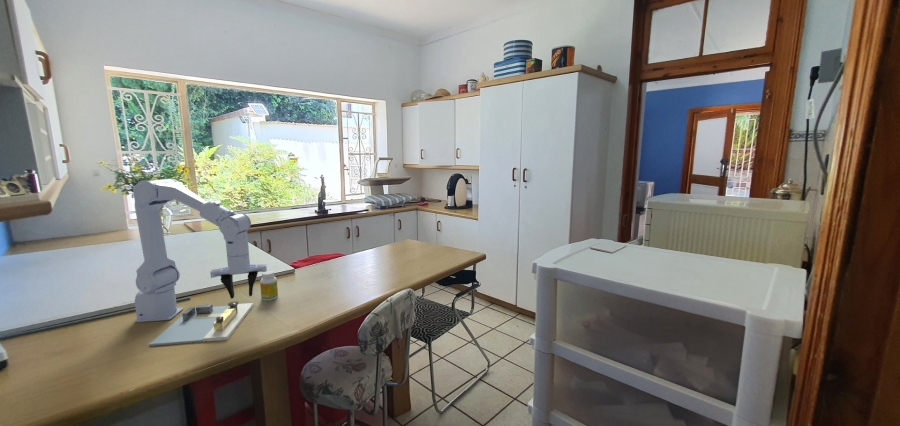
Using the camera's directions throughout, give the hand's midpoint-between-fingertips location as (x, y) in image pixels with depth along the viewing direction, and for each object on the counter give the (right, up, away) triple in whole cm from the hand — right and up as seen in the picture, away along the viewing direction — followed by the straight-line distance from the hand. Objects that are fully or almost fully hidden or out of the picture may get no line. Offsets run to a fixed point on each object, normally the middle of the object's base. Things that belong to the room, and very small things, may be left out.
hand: (241, 296), depth 106 cm
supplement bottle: (-1, -5, +19) cm, 19 cm away
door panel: (-10, -8, 0) cm, 13 cm away
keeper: (-15, -8, +4) cm, 17 cm away
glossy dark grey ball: (-5, -8, +5) cm, 10 cm away
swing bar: (-4, -7, -2) cm, 8 cm away
